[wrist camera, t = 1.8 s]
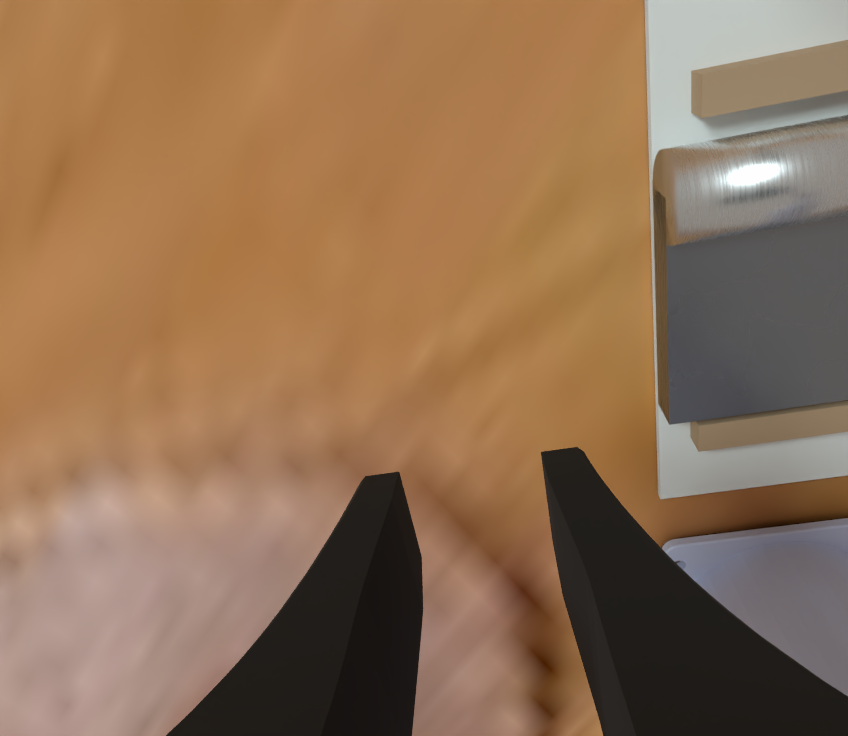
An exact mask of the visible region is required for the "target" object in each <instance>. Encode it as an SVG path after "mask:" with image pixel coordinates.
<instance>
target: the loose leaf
mask: <svg viewBox="0 0 848 736" xmlns="http://www.w3.org/2000/svg"><path fill="white" fill-rule="evenodd" d="M653 220H654V259H655V299H656V338H657V378H658V404H659V406H660V408H661V410H662V412H663V414H664V416H665V418H666V419H667V421H668V423H669V425H672V424H679V423H686V422H693V421H700V420H707V419H714V418H722V417H729V416H736V415H743V414H750V413H757V412H764V411H772V410H779V409H786V408H793V407H800V406H807V405H814V404H821V403H829V402H836V401H843V400H848V115H843V116H837V117H832V118H827V119H821V120H816V121H811V122H805V123H800V124H794V125H789V126H784V127H778V128H773V129H768V130H762V131H757V132H751V133H746V134H741V135H735V136H730V137H724V138H719V139H714V140H708V141H703V142H698V143H692V144H687V145H681V146H676V147H671V148H665V149H661V150H659V151H658V153H657V155H656V157H655V161H654V167H653Z"/></svg>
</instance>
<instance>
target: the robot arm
mask: <svg viewBox="0 0 848 736" xmlns="http://www.w3.org/2000/svg"><path fill="white" fill-rule="evenodd" d="M541 456H542V464H543V471H544V479H545V486H546V494H547V502H548V509H549V517H550V524H551V532H552V539H553V545H554V551H555V556H556V561H557V567H558V572H559V578H560V583H561V588H562V594H563V597H564V601H565V604H566V608H567V611H568V615H569V618H570V621H571V625H572V628H573V632H574V635H575V638H576V642H577V645H578V649H579V652H580V655H581V659H582V662H583V666H584V669H585V672H586V676H587V679H588V683H589V686H590V689H591V693H592V696H593V699H594V703H595V706H596V710H597V713H598V716H599V720H600V724H601V728H602V732H603V736H848V518H844V519H835V520H827V521H819V522H811V523H802V524H794V525H786V526H778V527H769V528H761V529H753V530H745V531H736V532H728V533H720V534H712V535H703V536H695V537H687V538H679V539H673V540H670V541H668V542H666V543H665V544H664V545H663V547H662V549H661V548H660V547H659V546H658V544H657V543H656V542H655V541H654V540H653V539H652V538H651V537H650V536H649V535H648V534H647V533H646V532H645V531H644V529H643V528H642V527H641V526H640V525H639V524H638V523H637V521H636V520H635V519H634V518H633V517H632V516H631V515H630V514H629V512H628V511H627V510H626V509H625V508H624V507H623V505H622V504H621V503H620V502H619V501H618V499H617V498H616V497H615V496H614V494H613V493H612V492H611V491H610V489H609V488H608V487H607V485H606V484H605V483H604V481H603V480H602V479H601V477H600V476H599V475H598V473H597V472H596V470H595V469H594V467H593V466H592V464H591V463H590V461H589V460H588V458H587V456H586V455H585V453H584V452H583V451H582V450H581V449H579V448H578V447H574V448H567V449H559V450H552V451H545V452H541ZM676 561H680V562H677V563H675V562H676ZM422 616H423V586H422V557H421V553H420V549H419V545H418V541H417V538H416V534H415V530H414V526H413V522H412V519H411V515H410V511H409V507H408V504H407V500H406V496H405V492H404V488H403V485H402V481H401V477H400V473H399V472H394V473H386V474H379V475H372V476H365V478H364V479H363V480H362V481H361V483H360V485H359V486H358V488H357V490H356V492H355V494H354V495H353V497H352V499H351V501H350V503H349V504H348V506H347V508H346V510H345V511H344V513H343V515H342V517H341V518H340V520H339V522H338V523H337V525H336V527H335V529H334V530H333V532H332V534H331V535H330V537H329V538H328V540H327V542H326V543H325V545H324V546H323V548H322V550H321V551H320V553H319V554H318V556H317V558H316V559H315V561H314V562H313V564H312V566H311V567H310V569H309V570H308V572H307V573H306V575H305V576H304V577H303V579H302V580H301V582H300V583H299V584H298V586H297V587H296V589H295V590H294V592H293V593H292V594H291V596H290V597H289V599H288V600H287V601H286V603H285V604H284V606H283V607H282V608H281V610H280V611H279V613H278V614H277V615H276V616H275V618H274V619H273V620H272V622H271V623H270V624H269V626H268V627H267V628H266V629H265V631H264V632H263V633H262V634H261V636H260V637H259V638H258V639H257V640H256V642H255V643H254V644H253V645H252V646H251V648H250V649H249V650H248V651H247V652H246V654H245V655H244V656H243V657H242V658H241V659H240V661H239V662H238V663H237V664H236V665H235V666H234V667H233V668H232V669H231V670H230V672H229V673H228V674H227V675H226V676H225V677H224V678H223V679H222V680H221V681H220V682H219V683H218V684H217V685H216V686H215V687H214V688H213V690H212V691H211V692H210V693H209V694H208V695H207V696H206V697H205V698H204V699H203V700H202V701H201V702H200V703H199V704H198V705H197V706H196V707H195V708H194V709H193V710H192V711H191V712H190V713H189V714H188V715H187V716H186V717H185V718H184V719H183V720H182V721H181V722H180V723H179V724H178V725H177V726H176V727H175V728H174V729H172V730H171V731H170V732H169V733H168V734H167V735H166V736H412V727H413V716H414V706H415V695H416V684H417V673H418V662H419V651H420V640H421V628H422Z"/></svg>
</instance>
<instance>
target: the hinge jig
mask: <svg viewBox="0 0 848 736" xmlns="http://www.w3.org/2000/svg"><path fill="white" fill-rule="evenodd" d="M645 32H646V69H647V105H648V142H649V178H650V215H651V251H652V288H653V324H654V360H655V397H656V433H657V470H658V494H659V497H660V499H667V498H675V497H683V496H691V495H699V494H706V493H714V492H722V491H730V490H738V489H746V488H753V487H761V486H769V485H777V484H785V483H792V482H800V481H808V480H816V479H824V478H831V477H839V476H847V475H848V400H843V401H836V402H829V403H821V404H814V405H807V406H800V407H793V408H786V409H779V410H772V411H764V412H757V413H750V414H743V415H736V416H729V417H722V418H714V419H707V420H700V421H693V422H686V423H679V424H672V425H669V423H668V421H667V419H666V418H665V416H664V414H663V412H662V410H661V408H660V406H659V404H658V378H657V338H656V299H655V259H654V220H653V167H654V161H655V157H656V155H657V153H658V151H659V150H661V149H665V148H671V147H676V146H681V145H687V144H692V143H698V142H703V141H708V140H714V139H719V138H724V137H730V136H735V135H741V134H746V133H751V132H757V131H762V130H768V129H773V128H778V127H784V126H789V125H794V124H800V123H805V122H811V121H816V120H821V119H827V118H832V117H837V116H843V115H848V0H645Z"/></svg>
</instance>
